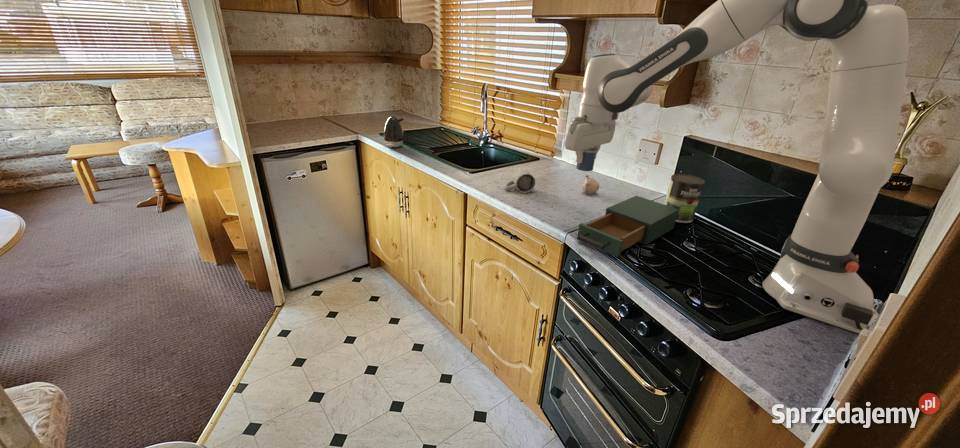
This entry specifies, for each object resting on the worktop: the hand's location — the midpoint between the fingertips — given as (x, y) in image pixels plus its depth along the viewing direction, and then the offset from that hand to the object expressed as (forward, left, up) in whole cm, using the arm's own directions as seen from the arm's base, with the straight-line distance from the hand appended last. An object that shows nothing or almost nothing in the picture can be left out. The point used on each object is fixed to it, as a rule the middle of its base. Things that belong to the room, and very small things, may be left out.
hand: (586, 160), depth 122 cm
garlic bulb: (+14, -29, -22) cm, 38 cm away
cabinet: (-14, -15, -21) cm, 29 cm away
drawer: (-14, +4, -20) cm, 25 cm away
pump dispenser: (+115, -2, -22) cm, 117 cm away
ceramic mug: (+33, -9, -22) cm, 40 cm away
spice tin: (0, 0, -3) cm, 2 cm away
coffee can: (-18, -35, -22) cm, 45 cm away
